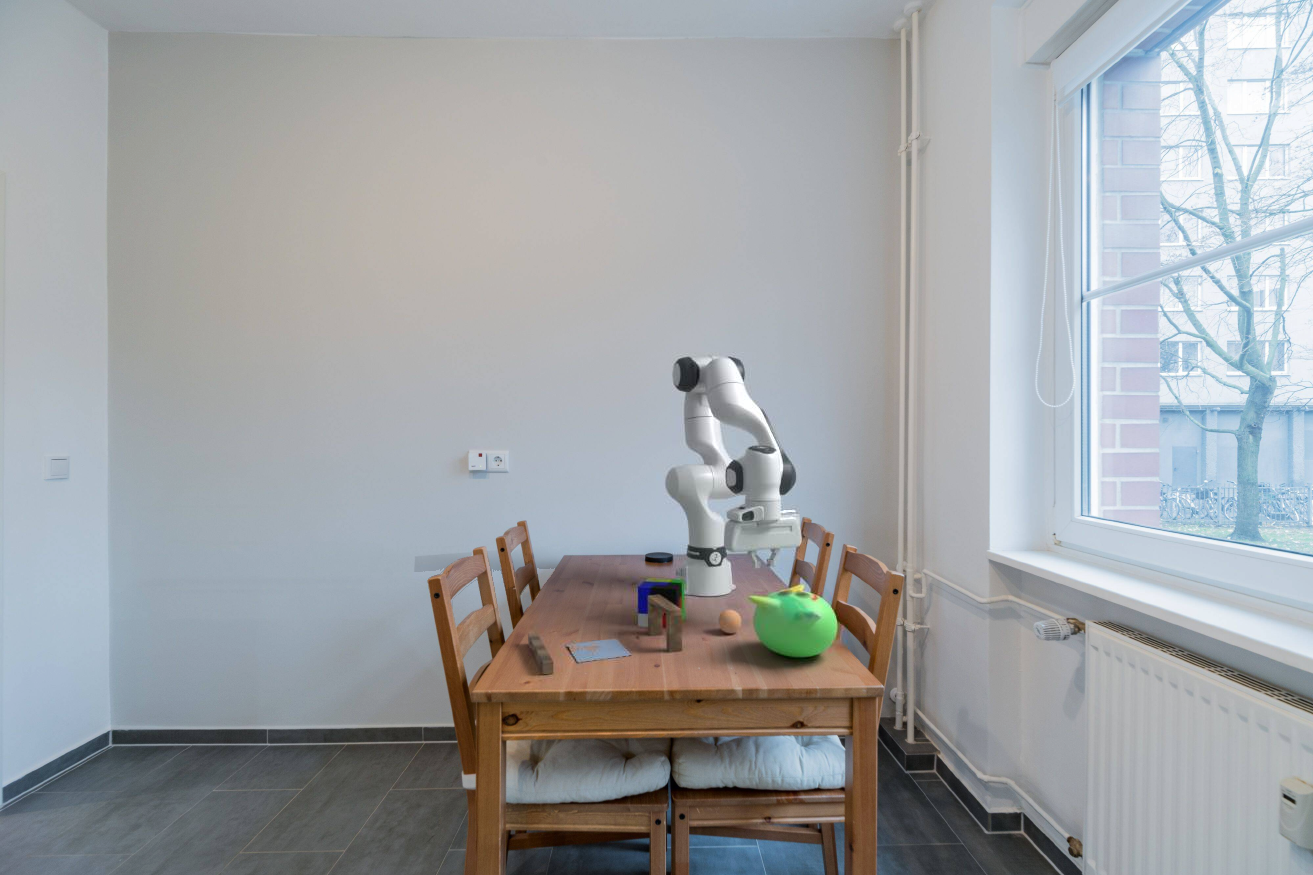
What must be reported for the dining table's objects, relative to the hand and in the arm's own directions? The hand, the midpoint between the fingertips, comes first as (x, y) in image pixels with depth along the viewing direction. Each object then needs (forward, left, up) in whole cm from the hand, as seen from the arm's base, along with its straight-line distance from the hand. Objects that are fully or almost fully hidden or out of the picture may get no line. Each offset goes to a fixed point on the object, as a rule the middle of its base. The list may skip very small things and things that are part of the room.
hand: (763, 567), depth 158 cm
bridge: (0, -27, -15) cm, 31 cm away
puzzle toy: (-15, -22, -15) cm, 30 cm away
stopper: (0, -56, -15) cm, 58 cm away
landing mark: (0, -43, -15) cm, 45 cm away
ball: (0, -10, -12) cm, 16 cm away
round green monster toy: (+19, -4, -15) cm, 25 cm away
